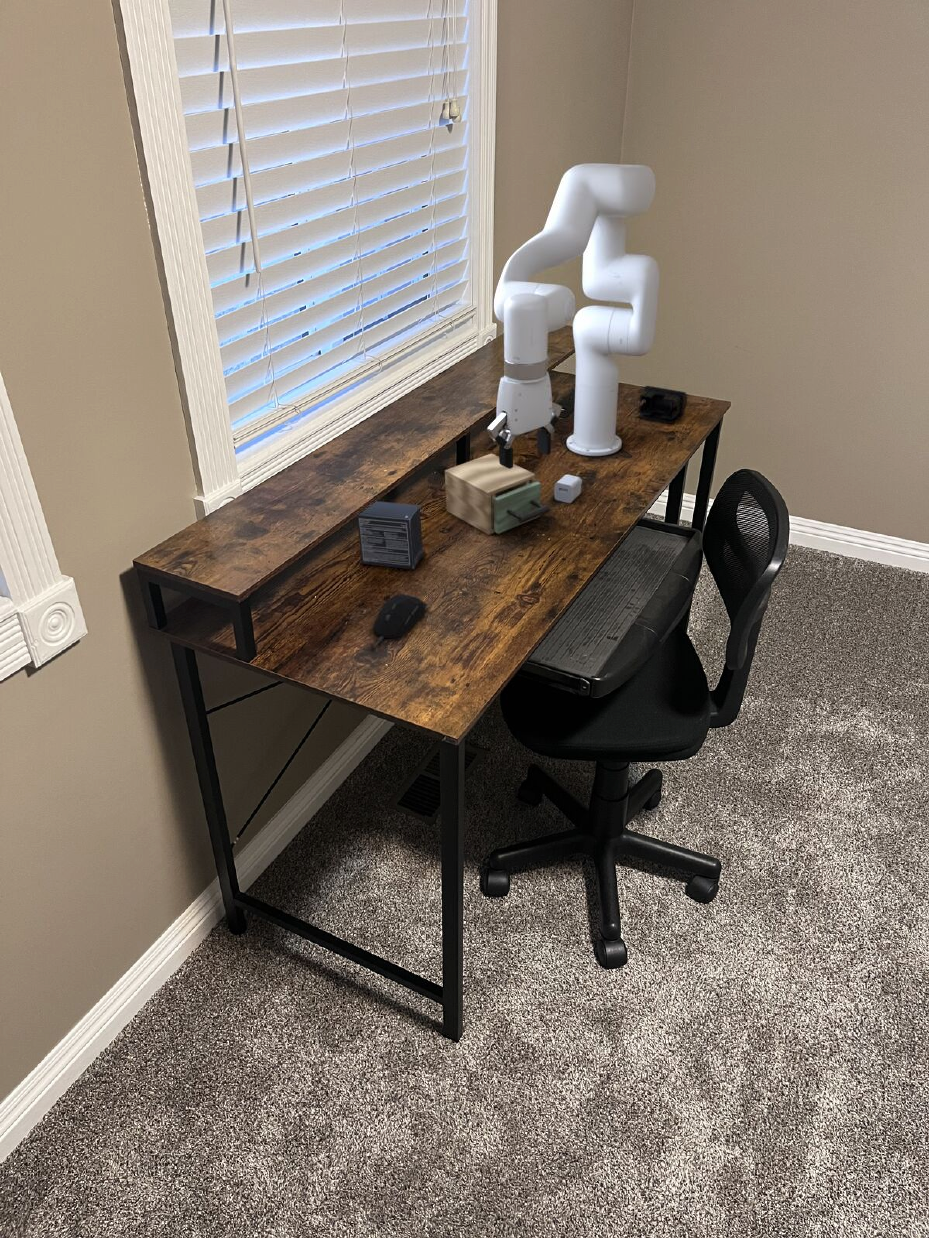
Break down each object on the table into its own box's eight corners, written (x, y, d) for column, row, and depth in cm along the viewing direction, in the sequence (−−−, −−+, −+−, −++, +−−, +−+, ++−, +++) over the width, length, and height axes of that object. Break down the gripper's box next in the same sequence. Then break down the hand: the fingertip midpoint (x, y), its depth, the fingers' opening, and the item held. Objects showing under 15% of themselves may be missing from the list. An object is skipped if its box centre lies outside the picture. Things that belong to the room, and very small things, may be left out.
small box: (425, 553, 175) (421, 503, 169) (414, 570, 170) (410, 520, 164) (372, 547, 178) (367, 498, 172) (360, 564, 172) (354, 514, 167)
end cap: (685, 415, 227) (688, 388, 223) (674, 425, 222) (677, 398, 219) (648, 408, 232) (650, 382, 228) (636, 417, 227) (638, 391, 223)
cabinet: (535, 515, 186) (535, 474, 181) (488, 535, 180) (487, 492, 175) (492, 493, 195) (491, 453, 190) (446, 511, 189) (444, 470, 184)
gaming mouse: (356, 644, 151) (354, 624, 149) (399, 599, 162) (398, 580, 160) (390, 653, 149) (388, 633, 146) (431, 606, 160) (430, 587, 157)
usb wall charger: (554, 499, 192) (554, 482, 190) (568, 486, 197) (569, 469, 195) (571, 503, 190) (572, 485, 188) (586, 490, 195) (586, 472, 193)
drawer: (557, 525, 181) (557, 491, 177) (514, 543, 175) (514, 508, 171) (499, 495, 192) (499, 463, 188) (458, 511, 187) (457, 478, 183)
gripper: (547, 352, 169) (546, 441, 179) (473, 374, 161) (476, 466, 170) (576, 362, 164) (573, 452, 174) (501, 385, 156) (502, 479, 165)
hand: (525, 459), depth 172 cm, fingers open, 8 cm apart
